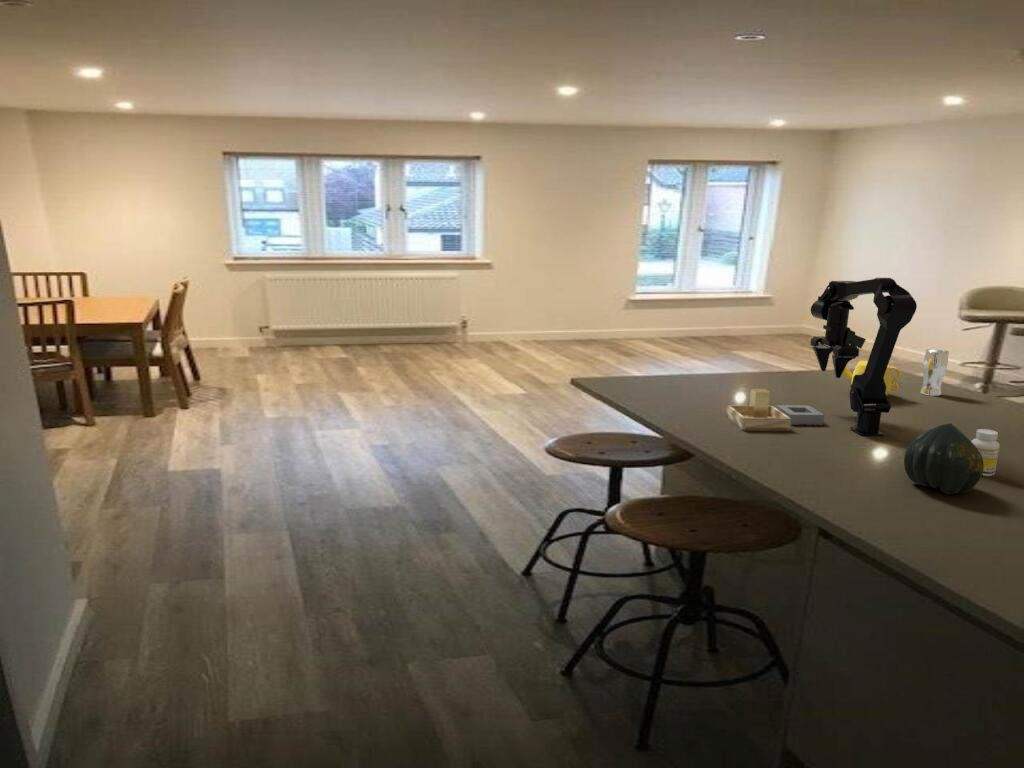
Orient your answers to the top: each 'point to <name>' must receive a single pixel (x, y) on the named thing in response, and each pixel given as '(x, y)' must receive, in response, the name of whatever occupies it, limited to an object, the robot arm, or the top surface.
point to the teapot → (887, 377)
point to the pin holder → (802, 414)
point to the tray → (758, 419)
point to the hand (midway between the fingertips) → (830, 374)
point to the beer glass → (934, 371)
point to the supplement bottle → (987, 449)
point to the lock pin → (759, 403)
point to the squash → (944, 460)
